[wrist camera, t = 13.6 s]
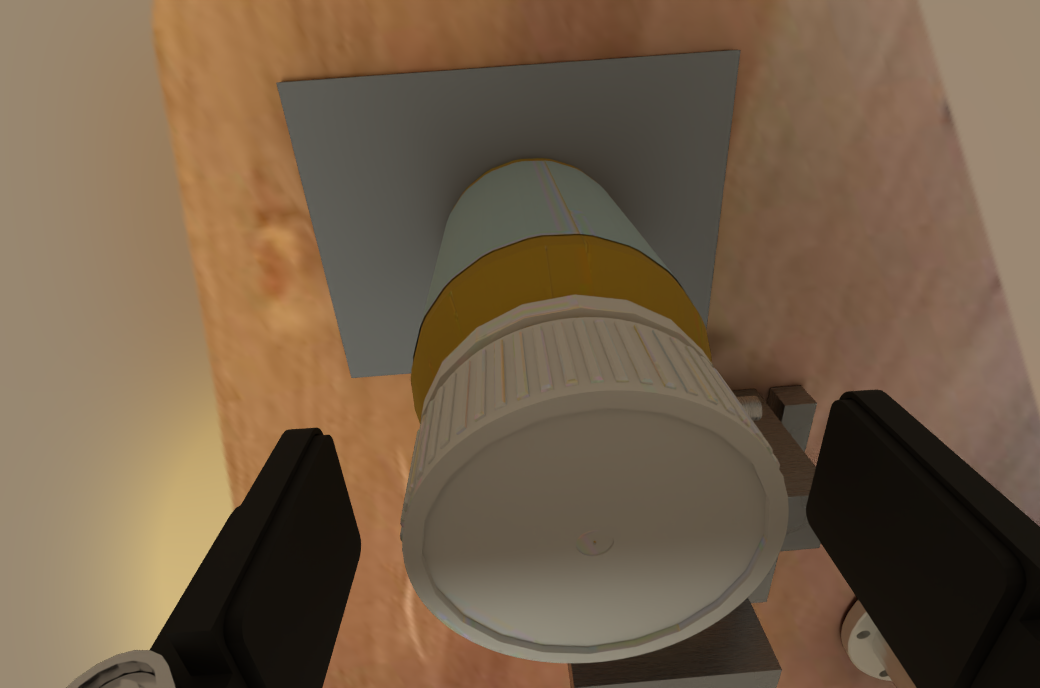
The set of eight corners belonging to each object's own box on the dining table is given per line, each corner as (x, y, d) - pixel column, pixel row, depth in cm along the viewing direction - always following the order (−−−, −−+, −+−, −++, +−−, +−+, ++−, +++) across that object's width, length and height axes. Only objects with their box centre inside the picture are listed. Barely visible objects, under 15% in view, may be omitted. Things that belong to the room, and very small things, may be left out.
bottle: (436, 157, 20) (329, 371, 7) (624, 151, 20) (878, 347, 7) (452, 326, 23) (402, 689, 10) (613, 319, 23) (770, 666, 10)
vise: (810, 341, 25) (914, 436, 19) (755, 579, 33) (815, 699, 27) (501, 366, 25) (505, 470, 19) (522, 599, 33) (530, 725, 27)
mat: (734, 50, 19) (740, 50, 19) (700, 344, 25) (703, 350, 24) (281, 81, 19) (276, 82, 18) (354, 372, 25) (351, 377, 24)
